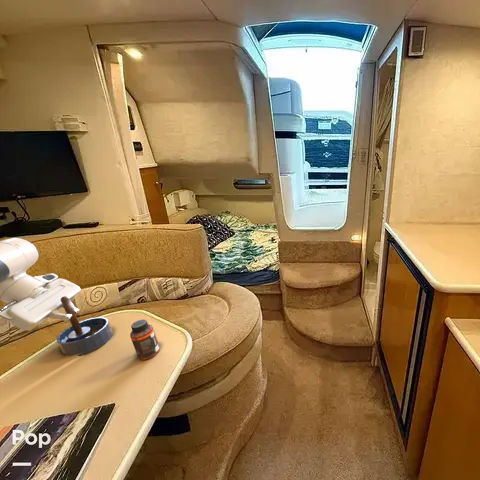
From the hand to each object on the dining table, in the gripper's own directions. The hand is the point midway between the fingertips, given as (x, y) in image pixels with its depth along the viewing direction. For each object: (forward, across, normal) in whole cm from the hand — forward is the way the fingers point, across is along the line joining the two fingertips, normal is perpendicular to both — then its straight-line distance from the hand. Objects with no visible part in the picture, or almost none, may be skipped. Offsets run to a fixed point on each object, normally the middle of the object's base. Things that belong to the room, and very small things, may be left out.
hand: (73, 315), depth 85 cm
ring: (+8, 0, +8) cm, 11 cm away
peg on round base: (+6, 0, +7) cm, 9 cm away
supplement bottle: (+25, -10, -9) cm, 28 cm away
